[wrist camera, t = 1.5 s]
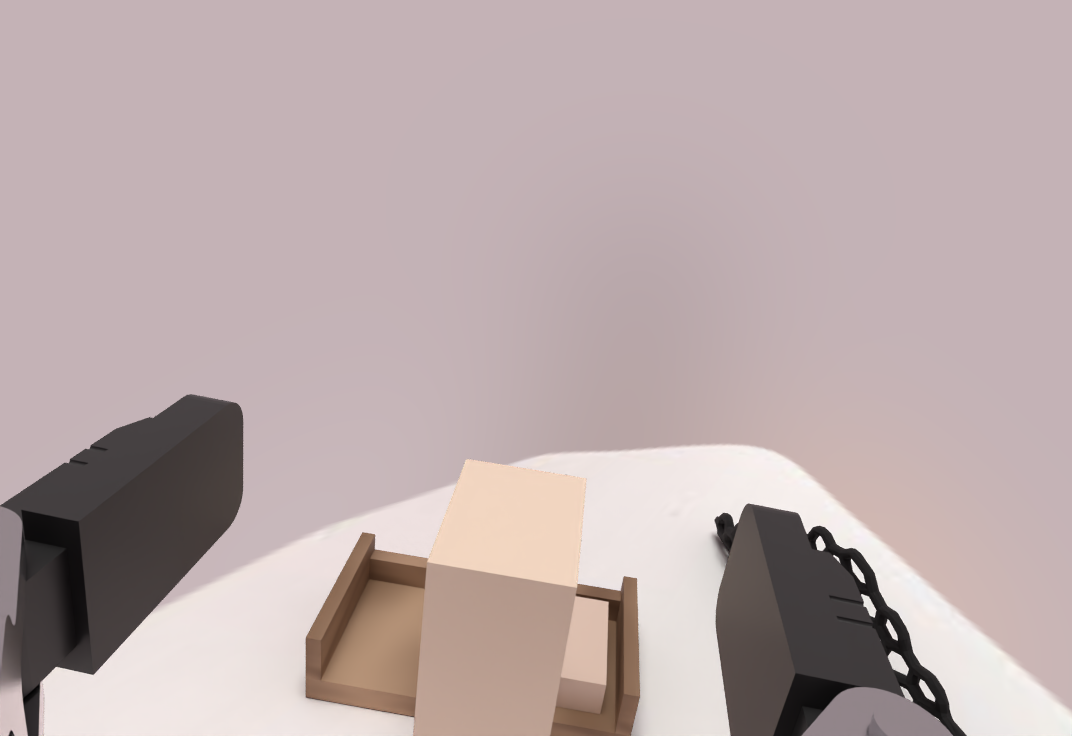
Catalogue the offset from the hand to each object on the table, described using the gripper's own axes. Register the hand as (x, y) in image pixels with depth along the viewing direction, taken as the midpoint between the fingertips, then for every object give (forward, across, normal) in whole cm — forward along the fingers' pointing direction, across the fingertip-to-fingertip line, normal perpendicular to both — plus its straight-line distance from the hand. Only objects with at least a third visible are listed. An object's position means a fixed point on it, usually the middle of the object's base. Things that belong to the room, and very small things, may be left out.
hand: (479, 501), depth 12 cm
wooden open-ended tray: (+20, +1, +22) cm, 29 cm away
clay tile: (+20, -2, +21) cm, 28 cm away
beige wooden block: (+11, 0, +22) cm, 25 cm away
